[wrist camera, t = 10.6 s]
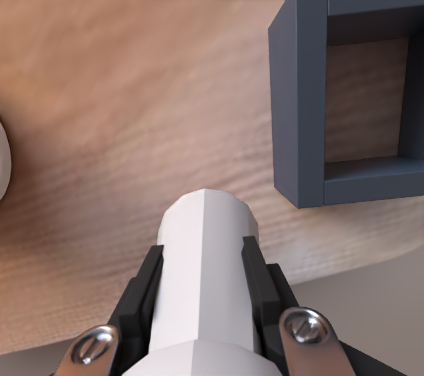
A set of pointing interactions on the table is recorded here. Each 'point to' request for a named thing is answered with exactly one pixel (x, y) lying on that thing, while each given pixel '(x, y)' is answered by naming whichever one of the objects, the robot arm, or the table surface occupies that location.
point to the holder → (316, 99)
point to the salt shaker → (204, 293)
